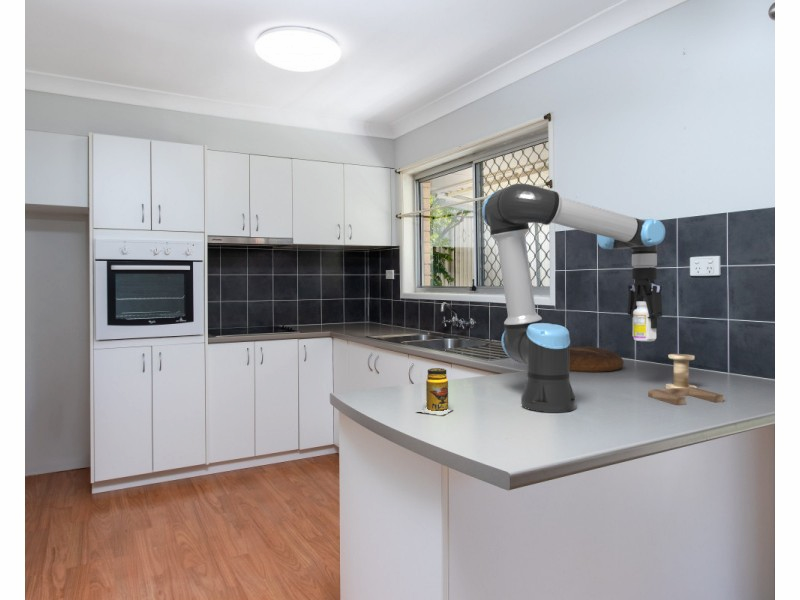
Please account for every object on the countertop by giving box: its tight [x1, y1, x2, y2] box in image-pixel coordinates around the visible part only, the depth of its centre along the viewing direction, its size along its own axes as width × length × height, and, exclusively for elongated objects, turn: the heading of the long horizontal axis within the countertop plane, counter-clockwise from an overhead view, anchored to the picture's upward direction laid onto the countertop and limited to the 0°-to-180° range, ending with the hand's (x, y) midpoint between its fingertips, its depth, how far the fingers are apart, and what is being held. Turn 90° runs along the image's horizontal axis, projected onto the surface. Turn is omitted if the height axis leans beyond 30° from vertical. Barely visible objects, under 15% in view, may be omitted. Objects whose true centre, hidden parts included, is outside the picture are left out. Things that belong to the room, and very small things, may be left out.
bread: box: [569, 346, 625, 373], centre depth 220 cm, size 28×27×9 cm
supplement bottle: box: [632, 300, 656, 342], centre depth 174 cm, size 7×7×13 cm
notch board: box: [647, 387, 724, 406], centre depth 161 cm, size 16×12×2 cm
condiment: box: [425, 367, 449, 411], centre depth 148 cm, size 7×8×12 cm
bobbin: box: [665, 353, 698, 389], centre depth 174 cm, size 9×9×11 cm
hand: (644, 337), depth 175 cm, fingers closed on supplement bottle, 7 cm apart
